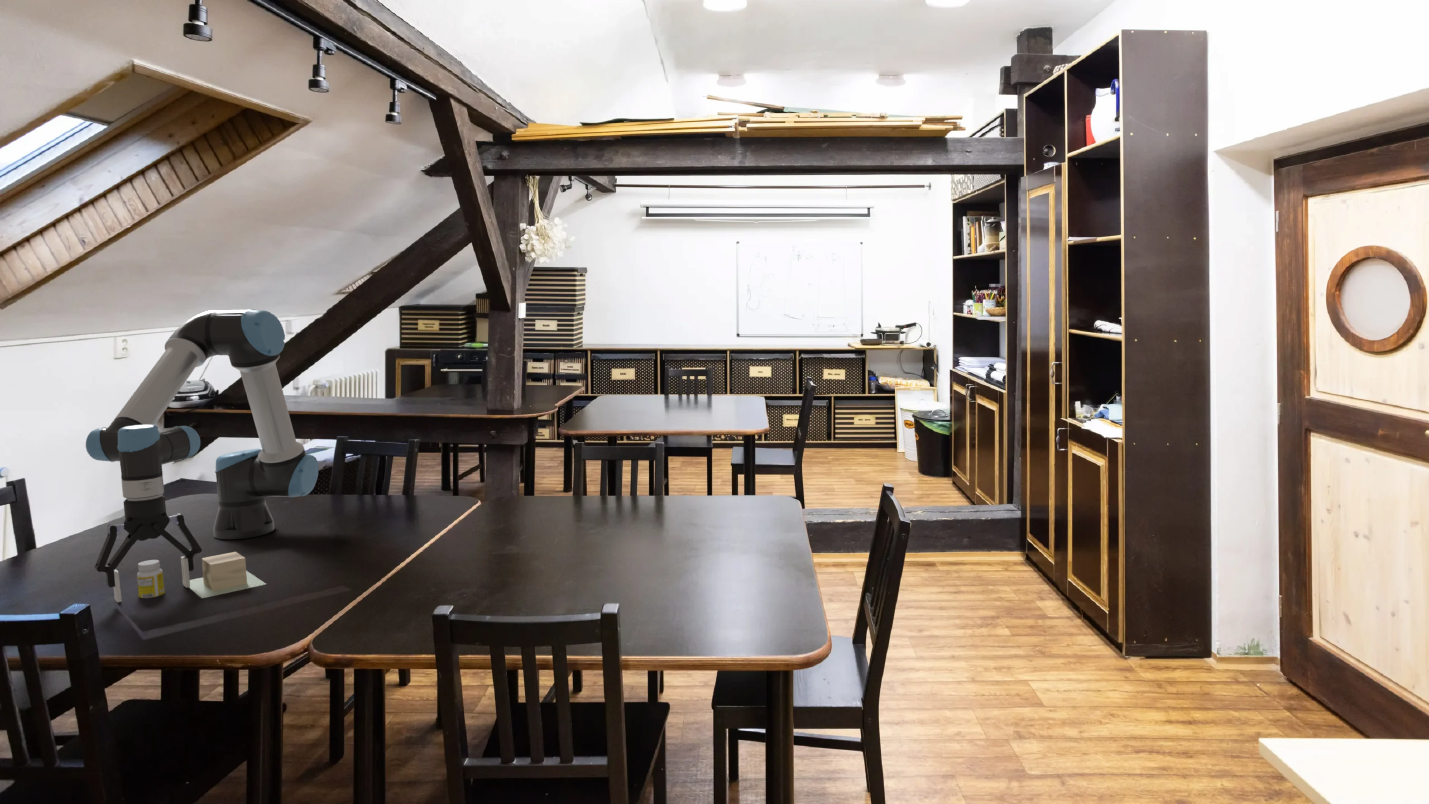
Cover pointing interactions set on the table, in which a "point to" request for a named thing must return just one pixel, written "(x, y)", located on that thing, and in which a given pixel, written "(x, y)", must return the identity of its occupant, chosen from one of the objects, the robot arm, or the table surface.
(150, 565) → the supplement bottle
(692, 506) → the table surface
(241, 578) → the beech block
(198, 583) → the board
